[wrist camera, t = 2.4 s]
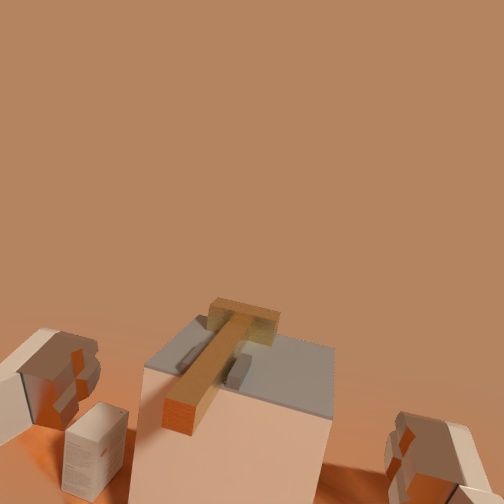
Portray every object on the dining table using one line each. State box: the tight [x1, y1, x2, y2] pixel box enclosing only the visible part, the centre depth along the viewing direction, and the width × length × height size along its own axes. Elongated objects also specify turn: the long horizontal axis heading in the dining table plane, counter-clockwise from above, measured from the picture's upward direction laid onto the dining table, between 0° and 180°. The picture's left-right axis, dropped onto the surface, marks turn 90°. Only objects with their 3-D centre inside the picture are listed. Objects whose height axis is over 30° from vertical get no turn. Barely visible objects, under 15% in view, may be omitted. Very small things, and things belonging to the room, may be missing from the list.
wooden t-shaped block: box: [161, 298, 280, 437], centre depth 46 cm, size 10×26×4 cm, turn 167°
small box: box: [61, 402, 129, 503], centre depth 58 cm, size 8×6×10 cm
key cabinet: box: [128, 315, 334, 504], centre depth 53 cm, size 22×18×28 cm
